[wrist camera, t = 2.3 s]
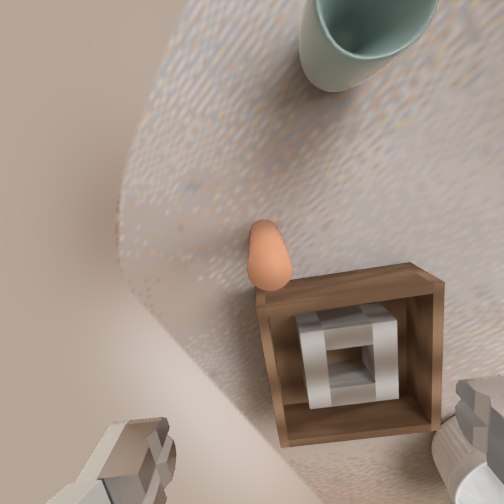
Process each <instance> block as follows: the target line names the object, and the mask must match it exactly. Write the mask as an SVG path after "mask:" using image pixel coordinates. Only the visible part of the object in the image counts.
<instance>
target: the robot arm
mask: <svg viewBox="0 0 504 504" xmlns="http://www.w3.org/2000/svg"><path fill="white" fill-rule="evenodd" d="M456 393H457V394H458V395H459V396H460V398H461V400H460V401H459V402H458V404H457V405H456V406H455V408H456V419H457V422H458V425H459V428H460V429H461V431H462V433H463V435H464V436H465V438H466V439H467V440H468V442H469V443H470V444H471V445H472V447H474V448H476V449H477V450H479V451H481V452H482V453H484V454H486V459H487V465H488V466H489V468H490V469H491V470H492V471H493V473H494V474H495V475H496V476H497V477H498V479H499V480H500V481H501V482H502V484H503V485H504V374H502V375H498V376H487V377H480V378H473V379H465V380H459V381H458V383H457V384H456ZM168 431H169V424H168V421H167V419H166V418H163V417H160V418H149V419H138V420H130V421H122V422H114V423H112V424H111V425H110V426H109V427H108V428H107V430H106V431H105V433H104V435H103V436H102V438H101V440H100V441H99V443H98V445H97V446H96V448H95V450H94V451H93V453H92V455H91V456H90V458H89V459H88V461H87V463H86V465H85V466H84V468H83V470H82V471H81V473H80V474H79V476H78V478H77V479H76V481H75V482H74V483H69V484H68V485H66V486H65V487H64V488H63V489H62V490H60V491H59V492H58V493H57V494H56V495H55V496H54V497H53V498H51V499H50V500H49V501H48V502H47V503H45V504H165V503H166V499H167V498H166V495H165V492H164V489H165V488H166V486H167V485H168V484H169V482H170V481H171V480H172V478H173V474H174V470H175V463H176V449H175V444H174V440H173V439H172V438H171V437H170V436H168V435H167V433H168Z"/></svg>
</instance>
